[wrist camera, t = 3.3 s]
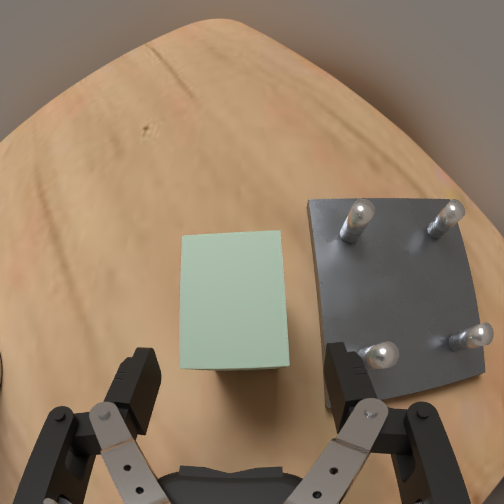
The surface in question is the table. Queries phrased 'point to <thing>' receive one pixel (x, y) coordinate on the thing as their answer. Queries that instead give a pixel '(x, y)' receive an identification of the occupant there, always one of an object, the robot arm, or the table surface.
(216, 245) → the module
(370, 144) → the table surface
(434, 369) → the plate
